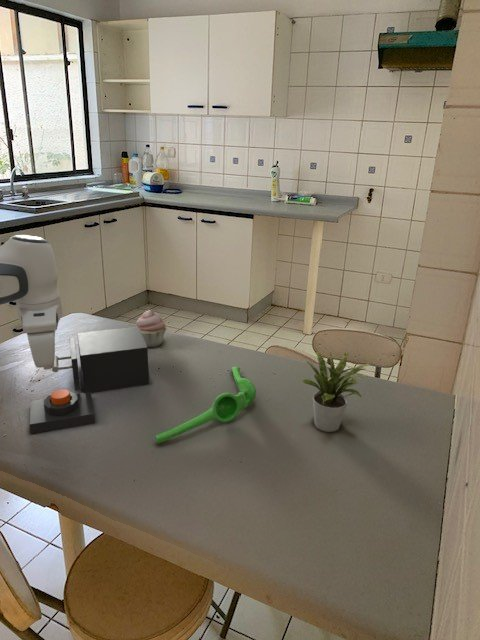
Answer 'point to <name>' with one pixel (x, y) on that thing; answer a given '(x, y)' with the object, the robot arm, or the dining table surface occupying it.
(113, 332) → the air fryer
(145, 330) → the cupcake
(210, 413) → the lime squeezer
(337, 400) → the house plant
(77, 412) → the panel
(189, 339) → the dining table surface
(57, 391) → the button
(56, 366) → the basket drawer
